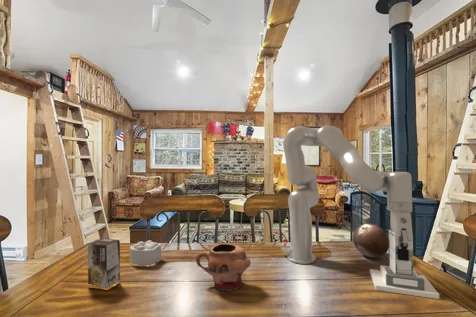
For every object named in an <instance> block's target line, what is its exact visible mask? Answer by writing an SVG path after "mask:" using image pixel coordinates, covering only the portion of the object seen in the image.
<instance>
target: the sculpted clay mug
mask: <svg viewBox="0 0 476 317" xmlns="http://www.w3.org/2000/svg"><path fill="white" fill-rule="evenodd" d="M202 258H206V260H207V267H205V266H203V264H201V262H200V261H201V259H202ZM195 261H196V262H195V263H196V264H197V266H198V267H199V268H201V269H202V270H203V271H204V272H206V273H208V275H210V276H212V279H213V283H214V288H215V287H216V288H215V289H217V290H220V291H224V290H225V292H226V291H236V290H238V289H239V288H241V286H242V281H243V280H242V275H243V273H244V272H245V271H246V270H247V269H248V268H249V267H250V266H251V262H252V261H251V259H250V258H248V257H247V254H246V251H245V249H244V248H243V247H240V246H239V245H237V244H230V243H228V244H227V243H220V244H216V245H214V246H212V247H211V248H210V250H209V251H201V252H199V253H197V254H196V256H195Z"/></svg>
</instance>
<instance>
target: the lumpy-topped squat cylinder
mask: <svg viewBox="0 0 476 317" xmlns="http://www.w3.org/2000/svg"><path fill="white" fill-rule="evenodd" d="M160 259H161V260H162V244H161V243H158V242H155V241H152V240H150V239H149V240H147V241H137V243H134V244H132V245H130V246H129V263H130V262H131V263H133V264H138V265H151V264H154V263H156V262H157V261H158V260H160Z"/></svg>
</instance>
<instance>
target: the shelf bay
mask: <svg viewBox="0 0 476 317" xmlns="http://www.w3.org/2000/svg"><path fill="white" fill-rule="evenodd" d="M369 274H370V277H371V280H372V283H373V287H374V288H375V290H376V291H381V292H387V293H396V294H401V295H408V296H416V297H422V298H428V299H435V300H436V299H437V300H440V293H439V292H438V291H437V290H436V289H435V287H434V286H433V285H432V284H431V282H430V281H429V280H428V278H426V276H425V275H423V274H422V275H421V274H418V272H417V271H416V270H415V269H414V268H413V275H398V274H395V273H394V272H393V271H392V270H391V269H390V268H389V265H382V264H381V265H380V269H372V268H369Z"/></svg>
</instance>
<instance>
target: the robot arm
mask: <svg viewBox="0 0 476 317" xmlns="http://www.w3.org/2000/svg"><path fill="white" fill-rule="evenodd" d="M282 144H283V145H282V146H283V153H284V157H285V166H286V175H287V180H288V182H289V184H290V185H291V186H294V187H298V189H295V190H293V191H291V192H290V194H289V196H288V198H287V204H288V209H289V220H290V221H289V224H290V230H289V231H290V232H289V233H290V246H289V247H283V246H282V247H281V249H280V250H281V251H280V252H282V253H283V254H287V259H288V261H290V262H292V263H295V264H300V265H308V264H309V265H310V264H314V263H315V262H316V261H317V256H316V255H315V254H313V224H312V223H313V220H312V214H311V208H313V207H315V206H316V205H317V204H318V203H319V199H320V194H319V187H318V180H317V174H316V171H315V170H314V169H313V167H311V166H309V165H308V164H307V165H306V161H305V155H304V152H303V149H302V146H307V147H323V148H325V149H326V150H327V151H328V152H329V153H330V154H331V155H332V156H333V157H334V158H335V159H336V160H337V161H338V163H340V166H341V167H342V169H344V171H345V173H346V174H348V176H349V177H350V178H351V179H352V180H353V181H354V182H355V183H356V184H357V185H358V186H359V187H360V188H361V189H363V190H364V191H365V192H369V193H377V192H379V191H383V190H386V201H387V203H386V204H387V206H386V207H387V209H386V210H387V211H390V213H389V214H390V218H389V219H390V220H389V221H390V230H392V231H393V232H394V233H395V237H396V239H397V240H398V247H399V248H397V252H398V260H402V261H409V248H408V239H409V241H412V240H414V235H413V225H412V223H413V222H412V217H411V215H412V214H411V212H413V192H412V186H413V184H412V174H411V173H410V172H408V171H391V172H390V171H389V172H388V171H381V170H374V169H373V168H372V167H371V166H369V164H368V163H366V161H365V160H364V159H362V157H361V155H360V154H359V150H358V148H357V147H356V146H355V145H354V144H353V143H352V142H351V141H350V140H349V139H347V138H346V137H345V136H344V133H343V131H342V130H341V128H339V127H337V126H333V125H330V124H329V125H323V126H321V127H317V128H316V127H314V128H313V127H312V128H311V127H307V126H304V125H303V126H302V125H298V126H294V127H292V128H290V129H289V130H287V132H286V133H285V135H284V137H283V142H282ZM399 237H401V238H402V239H400V238H399ZM407 237H408V238H407ZM400 241H401V242H403V243H400Z"/></svg>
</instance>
